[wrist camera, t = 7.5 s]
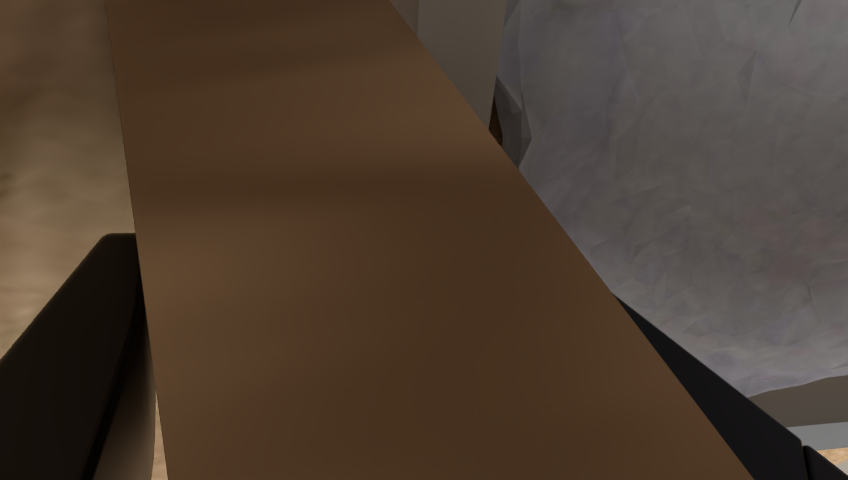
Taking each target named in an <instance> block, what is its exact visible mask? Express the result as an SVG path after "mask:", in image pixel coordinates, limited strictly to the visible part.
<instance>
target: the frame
mask: <svg viewBox="0 0 848 480" xmlns="http://www.w3.org/2000/svg"><path fill="white" fill-rule="evenodd" d="M747 398H748V399H750V400H751V401H752V402H753V403H755V404H756V405H757V406H759V407H760V408H761V409H762V410H764V411H765V412H766V413H768V414H769V415H770V416H771V417H773V418H774V419H775V420H777V421H778V422H779V423H780V424H782V425H783V426H784V427H786V428H787V429H788V430H789V431H791V432H792V433H793V434H795V435H796V436H797V437H798V438H800V439H801V441H802V445H803V446H804V445H808V446H810V447H812V448H813V449H814V450H816V451H817V450H826V449H836V448H846V447H848V375H845V376H835V377H827V378H823V379H820V380H816V381H813V382H809V383H807V384H804V385H799V386H794V387H788V388H783V389H777V390H770V391H767V392H763V393H760V394H757V395H754V396H750V397H747Z"/></svg>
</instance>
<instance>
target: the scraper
mask: <svg viewBox="0 0 848 480" xmlns="http://www.w3.org/2000/svg"><path fill="white" fill-rule="evenodd" d="M506 4H507V0H105V5H106V13H107V20H108V28H109V35H110V43H111V51H112V58H113V66H114V73H115V81H116V88H117V96H118V104H119V111H120V119H121V126H122V134H123V141H124V149H125V157H126V164H127V172H128V179H129V187H130V195H131V202H132V210H133V217H134V225H135V232H136V240H137V248H138V255H139V263H140V270H141V278H142V285H143V293H144V301H145V308H146V316H147V323H148V331H149V339H150V346H151V354H152V361H153V369H154V376H155V384H156V392H157V399H158V407H159V414H160V422H161V430H162V437H163V445H164V452H165V460H166V467H167V475H168V480H754V479H753V478H752V476H751V475H750V474H749V472H748V471H747V470H746V468H745V467H744V466H743V464H742V463H741V462H740V460H739V459H738V458H737V456H736V455H735V454H734V453H733V451H732V450H731V449H730V447H729V446H728V445H727V443H726V442H725V441H724V439H723V438H722V437H721V435H720V434H719V433H718V432H717V430H716V429H715V428H714V426H713V425H712V424H711V422H710V421H709V420H708V418H707V417H706V416H705V414H704V413H703V412H702V410H701V409H700V408H699V407H698V405H697V404H696V403H695V401H694V400H693V399H692V397H691V396H690V395H689V393H688V392H687V391H686V389H685V388H684V387H683V386H682V384H681V383H680V382H679V380H678V379H677V378H676V376H675V375H674V374H673V372H672V371H671V370H670V368H669V367H668V366H667V364H666V363H665V362H664V361H663V359H662V358H661V357H660V355H659V354H658V353H657V351H656V350H655V349H654V347H653V346H652V345H651V343H650V342H649V341H648V340H647V338H646V337H645V336H644V334H643V333H642V332H641V330H640V329H639V328H638V326H637V325H636V324H635V322H634V321H633V320H632V318H631V317H630V316H629V315H628V313H627V312H626V311H625V309H624V308H623V307H622V305H621V304H620V303H619V301H618V300H617V299H616V297H615V296H614V295H613V294H612V292H611V291H610V290H609V288H608V287H607V286H606V284H605V283H604V282H603V280H602V279H601V278H600V276H599V275H598V274H597V272H596V271H595V270H594V269H593V267H592V266H591V265H590V263H589V262H588V261H587V259H586V258H585V257H584V255H583V254H582V253H581V251H580V250H579V249H578V248H577V246H576V245H575V244H574V242H573V241H572V240H571V238H570V237H569V236H568V234H567V233H566V232H565V230H564V229H563V228H562V226H561V225H560V224H559V223H558V221H557V220H556V219H555V217H554V216H553V215H552V213H551V212H550V211H549V209H548V208H547V207H546V205H545V204H544V203H543V202H542V200H541V199H540V198H539V196H538V195H537V194H536V192H535V191H534V190H533V188H532V187H531V186H530V184H529V183H528V182H527V180H526V179H525V178H524V177H523V175H522V174H521V173H520V171H519V170H518V169H517V167H516V166H515V165H514V163H513V162H512V161H511V159H510V158H509V157H508V156H507V154H506V153H505V152H504V150H503V149H502V148H501V146H500V145H499V144H498V142H497V141H496V140H495V138H494V137H493V136H492V134H491V133H490V132H489V124H490V117H491V110H492V103H493V96H494V89H495V82H496V75H497V68H498V61H499V54H500V47H501V40H502V33H503V26H504V19H505V11H506Z"/></svg>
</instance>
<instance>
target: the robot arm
mask: <svg viewBox="0 0 848 480" xmlns="http://www.w3.org/2000/svg"><path fill="white" fill-rule="evenodd" d="M612 294H613V293H612ZM613 295H614V294H613ZM614 296H615V297H616V299H617V300H618V301H619V303H620V304H621V305H622V307H623V308H624V309H625V311H626V312H627V313H628V315H629V316H630V317H631V318H632V320H633V321H634V322H635V324H636V325H637V326H638V328H639V329H640V330H641V332H642V333H643V334H644V336H645V337H646V338H647V340H648V341H649V342H650V343H651V345H652V346H653V347H654V349H655V350H656V351H657V353H658V354H659V355H660V357H661V358H662V359H663V361H664V362H665V363H666V364H667V366H668V367H669V368H670V370H671V371H672V372H673V374H674V375H675V376H676V378H677V379H678V380H679V382H680V383H681V384H682V386H683V387H684V388H685V389H686V391H687V392H688V393H689V395H690V396H691V397H692V399H693V400H694V401H695V403H696V404H697V405H698V407H699V408H700V409H701V410H702V412H703V413H704V414H705V416H706V417H707V418H708V420H709V421H710V422H711V424H712V425H713V426H714V428H715V429H716V430H717V432H718V433H719V434H720V435H721V437H722V438H723V439H724V441H725V442H726V443H727V445H728V446H729V447H730V449H731V450H732V451H733V453H734V454H735V455H736V456H737V458H738V459H739V460H740V462H741V463H742V464H743V466H744V467H745V468H746V470H747V471H748V472H749V474H750V475H751V476H752V478H753V479H754V480H848V475H846V474H845V473H844V472H843V471H841V470H840V469H839V468H837V467H836V466H835V465H834V464H832V463H831V462H830V461H828V460H827V459H826V458H825V457H823V456H822V455H821V454H819V453H818V452H817V451H816V450H814V449H813V448H812V447H810V446H808V445H804V446H803V445H802V441H801V439H800V438H798V437H797V436H796V435H795V434H793V433H792V432H791V431H789V430H788V429H787V428H786V427H784V426H783V425H782V424H780V423H779V422H778V421H777V420H775V419H774V418H773V417H771V416H770V415H769V414H768V413H766V412H765V411H764V410H762V409H761V408H760V407H759V406H757V405H756V404H755V403H753V402H752V401H751V400H750V399H748V398H747V397H746V396H744V395H743V394H742V393H740V392H739V391H738V390H737V389H735V388H734V387H733V386H731V385H730V384H729V383H728V382H726V381H725V380H724V379H722V378H721V377H720V376H719V375H717V374H716V373H715V372H713V371H712V370H711V369H710V368H708V367H707V366H706V365H704V364H703V363H702V362H701V361H699V360H698V359H697V358H695V357H694V356H693V355H692V354H690V353H689V352H688V351H686V350H685V349H684V348H683V347H681V346H680V345H679V344H677V343H676V342H675V341H674V340H672V339H671V338H670V337H668V336H667V335H666V334H665V333H663V332H662V331H661V330H659V329H658V328H657V327H656V326H654V325H653V324H652V323H650V322H649V321H648V320H647V319H645V318H644V317H643V316H641V315H640V314H639V313H637V312H636V311H635V310H634V309H632V308H631V307H630V306H628V305H627V304H626V303H625V302H623V301H622V300H621V299H619V298H618V297H617V296H616V295H614ZM155 406H156V384H155V376H154V369H153V361H152V354H151V346H150V339H149V331H148V323H147V316H146V308H145V301H144V293H143V285H142V278H141V270H140V263H139V255H138V248H137V240H136V233H110V234H107V235H105V236H103V237H102V238H101V239H100V240H99V241H98V243H97V244H96V245H95V246H94V247H93V249H92V250H91V251H90V252H89V253H88V255H87V256H86V257H85V258H84V259H83V261H82V262H81V263H80V264H79V266H78V267H77V268H76V269H75V270H74V272H73V273H72V274H71V275H70V276H69V278H68V279H67V280H66V281H65V282H64V284H63V285H62V286H61V287H60V289H59V290H58V291H57V292H56V293H55V295H54V296H53V297H52V298H51V299H50V301H49V302H48V303H47V304H46V305H45V307H44V308H43V309H42V310H41V312H40V313H39V314H38V315H37V316H36V318H35V319H34V320H33V321H32V322H31V324H30V325H29V326H28V327H27V328H26V330H25V331H24V332H23V333H22V335H21V336H20V337H19V338H18V339H17V341H16V342H15V343H14V344H13V345H12V347H11V348H10V349H9V350H8V351H7V353H6V354H5V355H4V356H3V357H2V359H1V360H0V480H151V476H152V468H153V460H154V443H155Z"/></svg>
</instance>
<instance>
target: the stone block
mask: <svg viewBox="0 0 848 480" xmlns="http://www.w3.org/2000/svg"><path fill="white" fill-rule="evenodd" d="M494 97H495V103H496V108H497V114H498V118H499V122H500V127H501V131H502V135H503V141H502V149H503V150H504V152H505V153H506V154H507V156H508V157H509V158H510V159H511V161H512V162H513V163H514V165H515V166H516V167H517V169H518V170H519V171H520V173H521V174H522V175H523V177H524V178H525V179H526V180H527V182H528V183H529V184H530V186H531V187H532V188H533V190H534V191H535V192H536V194H537V195H538V196H539V198H540V199H541V200H542V202H543V203H544V204H545V205H546V207H547V208H548V209H549V211H550V212H551V213H552V215H553V216H554V217H555V219H556V220H557V221H558V223H559V224H560V225H561V226H562V228H563V229H564V230H565V232H566V233H567V234H568V236H569V237H570V238H571V240H572V241H573V242H574V244H575V245H576V246H577V248H578V249H579V250H580V251H581V253H582V254H583V255H584V257H585V258H586V259H587V261H588V262H589V263H590V265H591V266H592V267H593V269H594V270H595V271H596V272H597V274H598V275H599V276H600V278H601V279H602V280H603V282H604V283H605V284H606V286H607V287H608V288H609V290H610V291H611V292H612V293H613V294H614V295H616V296H617V297H618V298H619V299H621V300H622V301H623V302H625V303H626V304H627V305H628V306H630V307H631V308H632V309H634V310H635V311H636V312H637V313H639V314H640V315H641V316H643V317H644V318H645V319H647V320H648V321H649V322H650V323H652V324H653V325H654V326H656V327H657V328H658V329H659V330H661V331H662V332H663V333H665V334H666V335H667V336H668V337H670V338H671V339H672V340H674V341H675V342H676V343H677V344H679V345H680V346H681V347H683V348H684V349H685V350H686V351H688V352H689V353H690V354H692V355H693V356H694V357H695V358H697V359H698V360H699V361H701V362H702V363H703V364H704V365H706V366H707V367H708V368H710V369H711V370H712V371H713V372H715V373H716V374H717V375H719V376H720V377H721V378H722V379H724V380H725V381H726V382H728V383H729V384H730V385H731V386H733V387H734V388H735V389H737V390H738V391H739V392H740V393H742V394H743V395H744V396H746V397H750V396H754V395H757V394H760V393H763V392H767V391H770V390H777V389H783V388H788V387H794V386H799V385H804V384H807V383H809V382H813V381H816V380H820V379H823V378H827V377H835V376H845V375H848V0H507V4H506V11H505V19H504V26H503V33H502V40H501V47H500V54H499V61H498V68H497V75H496V82H495V89H494Z"/></svg>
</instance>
